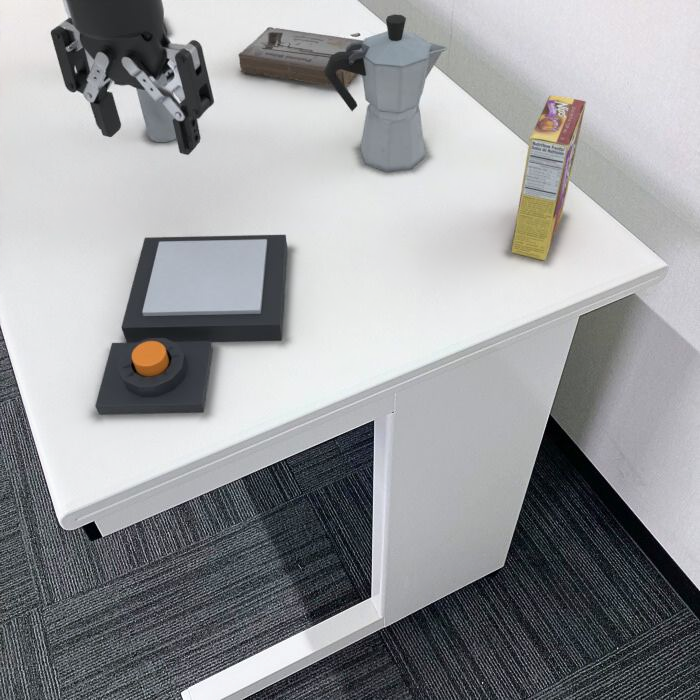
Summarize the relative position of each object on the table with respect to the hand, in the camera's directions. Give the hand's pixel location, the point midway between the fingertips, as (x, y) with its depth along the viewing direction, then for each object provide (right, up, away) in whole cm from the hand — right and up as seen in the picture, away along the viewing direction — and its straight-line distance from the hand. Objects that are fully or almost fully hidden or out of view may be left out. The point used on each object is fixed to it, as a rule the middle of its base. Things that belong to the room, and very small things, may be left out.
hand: (150, 141), depth 71 cm
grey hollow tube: (-6, +10, +31) cm, 33 cm away
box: (+12, +23, +43) cm, 50 cm away
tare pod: (0, -23, +2) cm, 23 cm away
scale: (+4, -14, +10) cm, 18 cm away
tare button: (0, -21, 0) cm, 21 cm away
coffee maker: (+24, +6, +27) cm, 37 cm away
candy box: (+41, -7, +16) cm, 44 cm away
